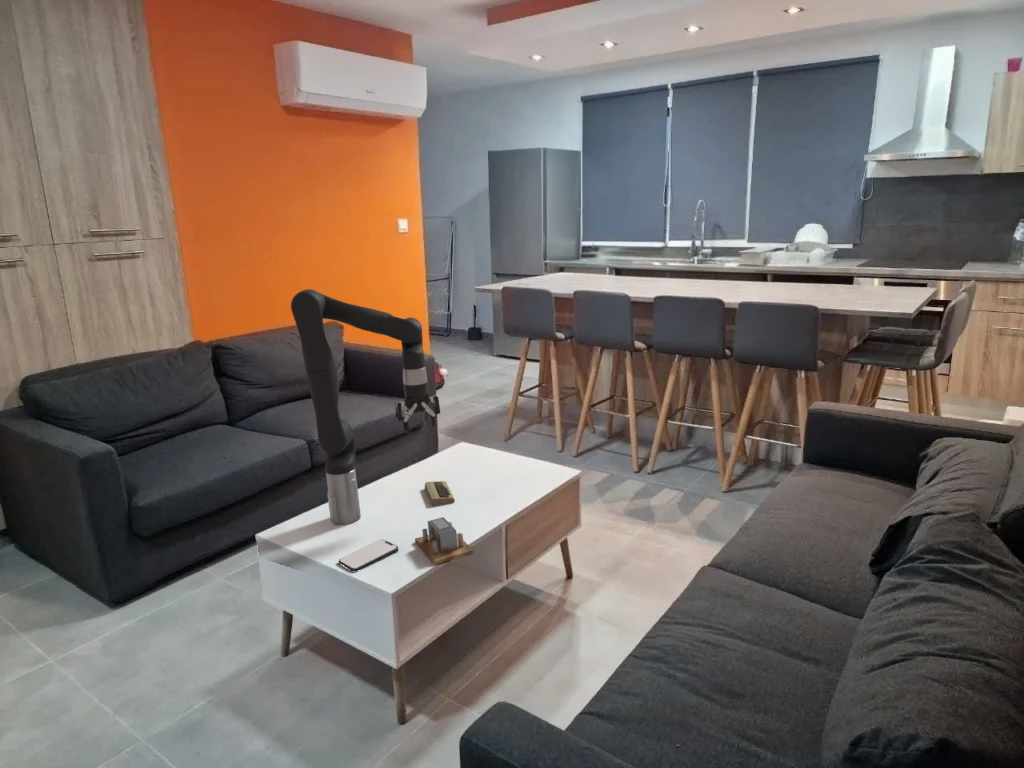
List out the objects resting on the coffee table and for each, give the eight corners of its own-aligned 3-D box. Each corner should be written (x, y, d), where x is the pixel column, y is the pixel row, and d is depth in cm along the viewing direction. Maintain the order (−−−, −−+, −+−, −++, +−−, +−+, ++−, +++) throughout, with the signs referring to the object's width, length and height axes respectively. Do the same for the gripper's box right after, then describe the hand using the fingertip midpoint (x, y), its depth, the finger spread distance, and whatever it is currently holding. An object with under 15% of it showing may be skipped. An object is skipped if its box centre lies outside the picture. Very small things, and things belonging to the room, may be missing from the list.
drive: (441, 553, 191) (439, 533, 190) (429, 539, 200) (427, 520, 198) (457, 549, 193) (456, 529, 192) (444, 535, 202) (443, 516, 201)
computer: (455, 503, 228) (454, 494, 227) (431, 507, 226) (430, 498, 225) (447, 486, 242) (446, 478, 242) (424, 490, 240) (424, 481, 240)
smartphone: (354, 575, 186) (400, 551, 197) (354, 570, 185) (400, 546, 196) (337, 565, 192) (382, 542, 203) (336, 560, 191) (382, 538, 202)
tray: (434, 565, 187) (432, 548, 186) (415, 542, 201) (413, 526, 200) (473, 553, 193) (472, 537, 191) (452, 532, 206) (450, 516, 205)
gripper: (397, 387, 206) (402, 436, 210) (440, 380, 212) (444, 428, 216) (390, 382, 212) (394, 430, 217) (432, 375, 219) (436, 422, 223)
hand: (419, 429), depth 216 cm, fingers open, 8 cm apart
